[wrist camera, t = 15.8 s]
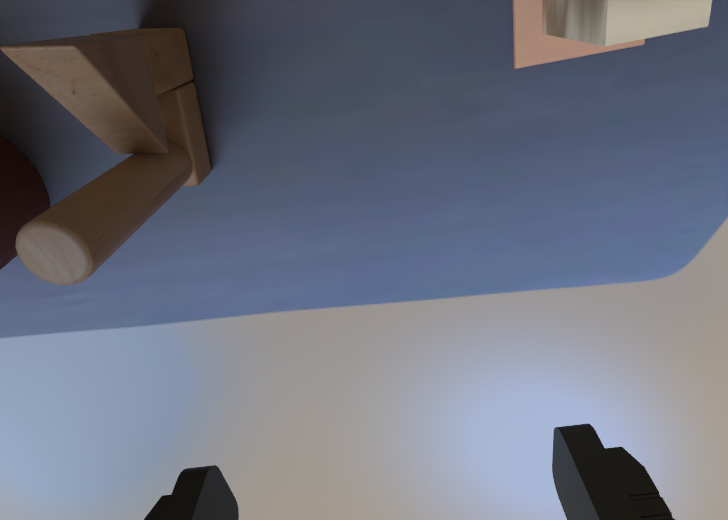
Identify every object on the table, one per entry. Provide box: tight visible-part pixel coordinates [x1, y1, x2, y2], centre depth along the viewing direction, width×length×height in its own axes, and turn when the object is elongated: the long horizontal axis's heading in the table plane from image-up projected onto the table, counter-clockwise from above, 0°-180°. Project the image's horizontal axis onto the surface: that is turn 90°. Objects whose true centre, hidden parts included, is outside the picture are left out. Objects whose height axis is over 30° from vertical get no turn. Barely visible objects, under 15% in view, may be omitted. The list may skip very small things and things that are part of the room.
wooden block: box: [0, 28, 211, 285], centre depth 28 cm, size 4×11×18 cm, turn 2°
